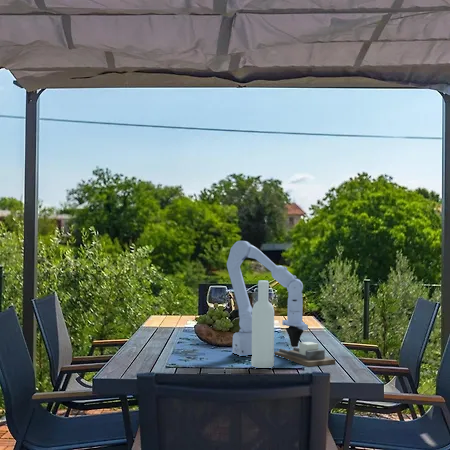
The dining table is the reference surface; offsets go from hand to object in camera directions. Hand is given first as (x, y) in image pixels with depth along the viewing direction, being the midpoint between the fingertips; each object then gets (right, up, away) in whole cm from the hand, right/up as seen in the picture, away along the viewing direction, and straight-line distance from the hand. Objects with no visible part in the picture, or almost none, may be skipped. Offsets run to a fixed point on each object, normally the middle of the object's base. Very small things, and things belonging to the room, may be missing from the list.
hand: (294, 346), depth 225 cm
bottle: (-13, -3, -20) cm, 24 cm away
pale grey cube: (+4, -2, -8) cm, 9 cm away
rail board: (+3, -4, -5) cm, 7 cm away
